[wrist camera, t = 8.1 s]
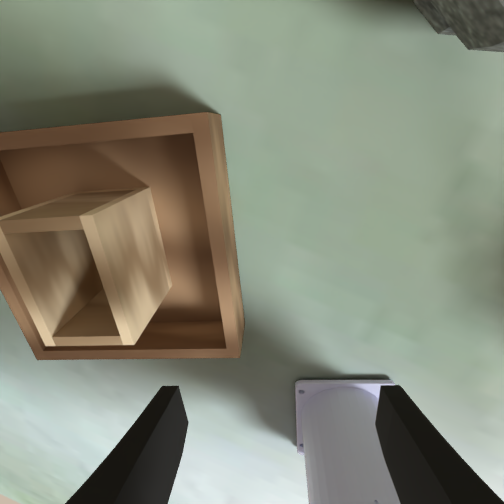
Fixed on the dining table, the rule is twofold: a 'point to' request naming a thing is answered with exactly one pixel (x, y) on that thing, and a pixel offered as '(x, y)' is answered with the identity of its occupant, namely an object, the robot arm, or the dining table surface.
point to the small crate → (88, 265)
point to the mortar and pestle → (468, 21)
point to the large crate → (168, 215)
